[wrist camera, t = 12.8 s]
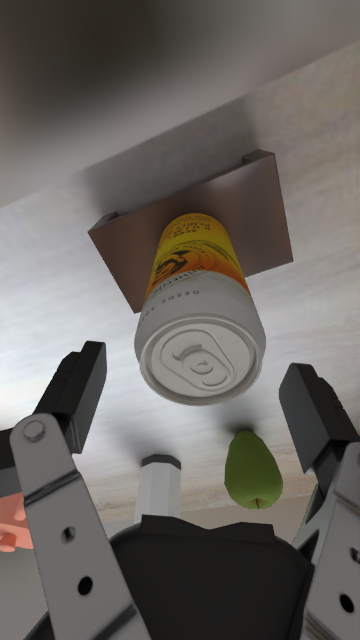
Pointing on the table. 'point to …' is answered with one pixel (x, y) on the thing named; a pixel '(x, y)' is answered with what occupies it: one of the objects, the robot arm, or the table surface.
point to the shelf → (210, 199)
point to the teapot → (13, 524)
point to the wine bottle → (159, 487)
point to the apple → (252, 472)
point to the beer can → (198, 318)
